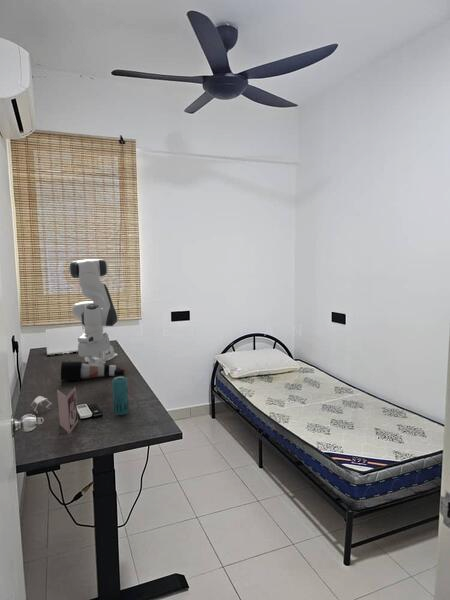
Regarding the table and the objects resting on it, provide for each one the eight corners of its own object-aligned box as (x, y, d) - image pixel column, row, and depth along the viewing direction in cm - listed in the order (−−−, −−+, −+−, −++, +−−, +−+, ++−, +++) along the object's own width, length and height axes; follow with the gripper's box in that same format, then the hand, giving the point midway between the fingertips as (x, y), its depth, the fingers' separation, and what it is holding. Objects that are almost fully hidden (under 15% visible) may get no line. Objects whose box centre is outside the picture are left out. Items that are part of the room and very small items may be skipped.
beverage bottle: (115, 419, 167) (112, 373, 165) (112, 414, 173) (109, 368, 171) (130, 416, 170) (128, 370, 167) (128, 411, 176) (125, 366, 174)
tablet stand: (47, 351, 294) (45, 328, 292) (83, 347, 304) (81, 325, 302) (47, 357, 278) (45, 332, 276) (85, 352, 288) (83, 329, 286)
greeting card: (71, 433, 155) (68, 396, 153) (52, 434, 155) (49, 397, 153) (80, 421, 166) (77, 386, 165) (61, 422, 166) (58, 387, 164)
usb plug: (87, 365, 211) (86, 358, 211) (92, 363, 215) (91, 356, 214) (101, 367, 207) (101, 360, 207) (106, 365, 211) (106, 358, 210)
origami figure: (54, 410, 179) (53, 400, 179) (33, 415, 175) (32, 404, 174) (48, 402, 189) (47, 392, 189) (29, 407, 185) (28, 396, 184)
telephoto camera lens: (124, 383, 229) (126, 369, 224) (60, 384, 219) (60, 370, 214) (124, 370, 238) (125, 357, 232) (62, 371, 228) (62, 357, 222)
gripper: (102, 331, 220) (104, 356, 222) (75, 339, 201) (77, 366, 203) (112, 332, 217) (113, 357, 219) (84, 340, 199) (86, 367, 201)
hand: (95, 361), depth 211 cm, fingers closed on usb plug, 4 cm apart
